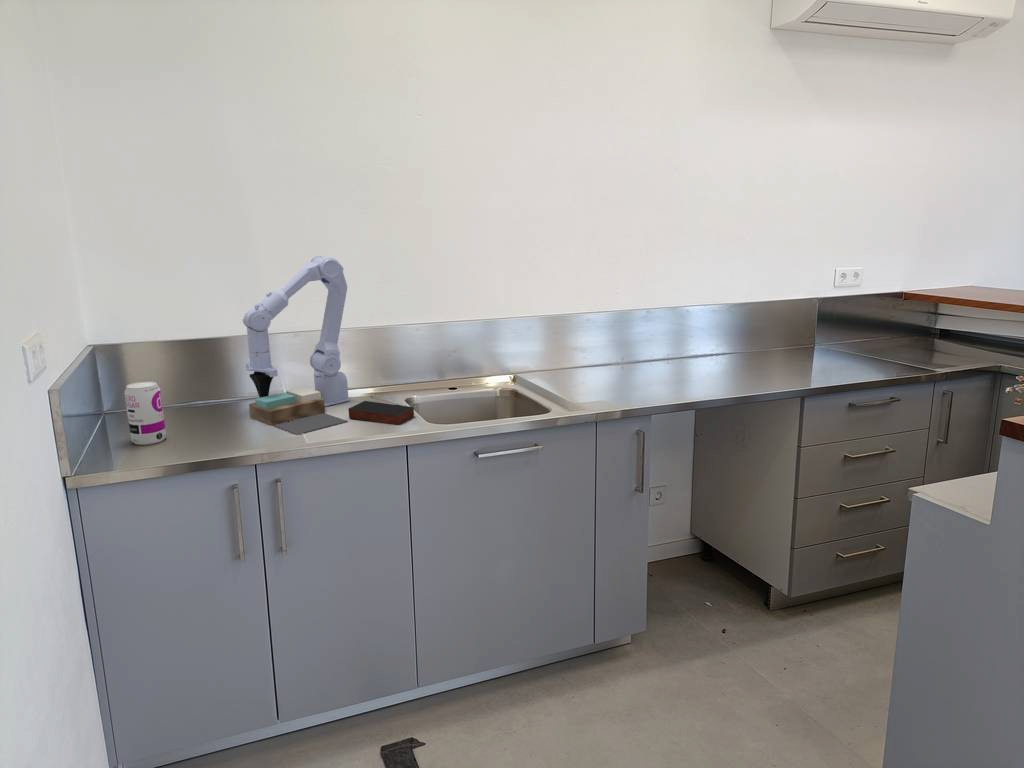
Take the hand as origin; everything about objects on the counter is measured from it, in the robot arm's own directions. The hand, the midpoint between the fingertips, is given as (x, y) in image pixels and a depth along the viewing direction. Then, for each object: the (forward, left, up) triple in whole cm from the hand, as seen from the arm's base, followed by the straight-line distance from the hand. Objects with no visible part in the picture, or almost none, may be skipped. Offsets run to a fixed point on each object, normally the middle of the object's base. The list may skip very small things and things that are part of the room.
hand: (263, 397), depth 212 cm
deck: (-3, +6, -5) cm, 9 cm away
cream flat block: (-9, +6, -1) cm, 11 cm away
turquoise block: (0, +6, -1) cm, 7 cm away
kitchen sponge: (-15, +30, -4) cm, 34 cm away
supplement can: (+33, 0, -5) cm, 33 cm away
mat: (-3, +19, -5) cm, 20 cm away
